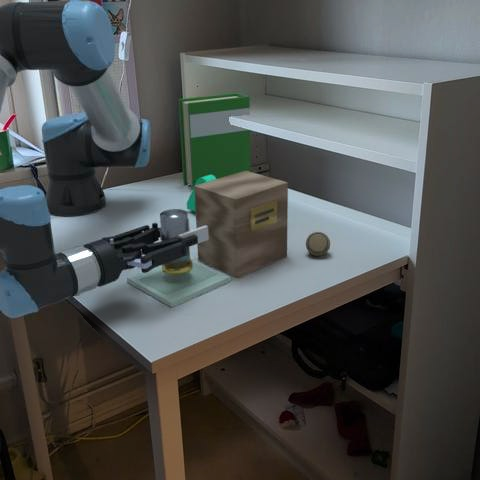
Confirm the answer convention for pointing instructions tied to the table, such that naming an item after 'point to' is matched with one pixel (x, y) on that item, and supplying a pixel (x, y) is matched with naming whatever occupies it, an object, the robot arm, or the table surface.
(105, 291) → the table surface
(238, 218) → the block
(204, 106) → the hardback book
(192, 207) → the camera mount
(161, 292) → the pad
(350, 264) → the table surface
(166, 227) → the grey glass cylinder
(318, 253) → the door knob
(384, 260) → the table surface
